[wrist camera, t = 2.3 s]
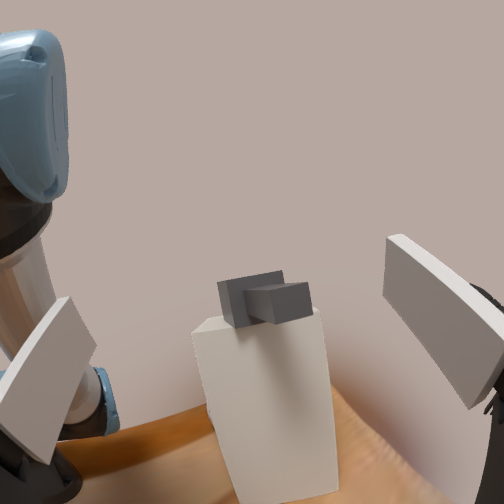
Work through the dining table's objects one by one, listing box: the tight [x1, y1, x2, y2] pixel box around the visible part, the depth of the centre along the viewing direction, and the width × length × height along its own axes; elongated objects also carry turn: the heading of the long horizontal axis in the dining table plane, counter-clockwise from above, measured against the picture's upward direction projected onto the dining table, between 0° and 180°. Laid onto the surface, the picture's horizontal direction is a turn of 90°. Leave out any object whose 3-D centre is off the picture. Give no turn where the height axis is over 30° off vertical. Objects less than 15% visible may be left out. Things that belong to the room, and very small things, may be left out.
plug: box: [217, 270, 313, 329], centre depth 29 cm, size 19×6×5 cm, turn 14°
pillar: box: [191, 307, 339, 504], centre depth 33 cm, size 12×14×28 cm
